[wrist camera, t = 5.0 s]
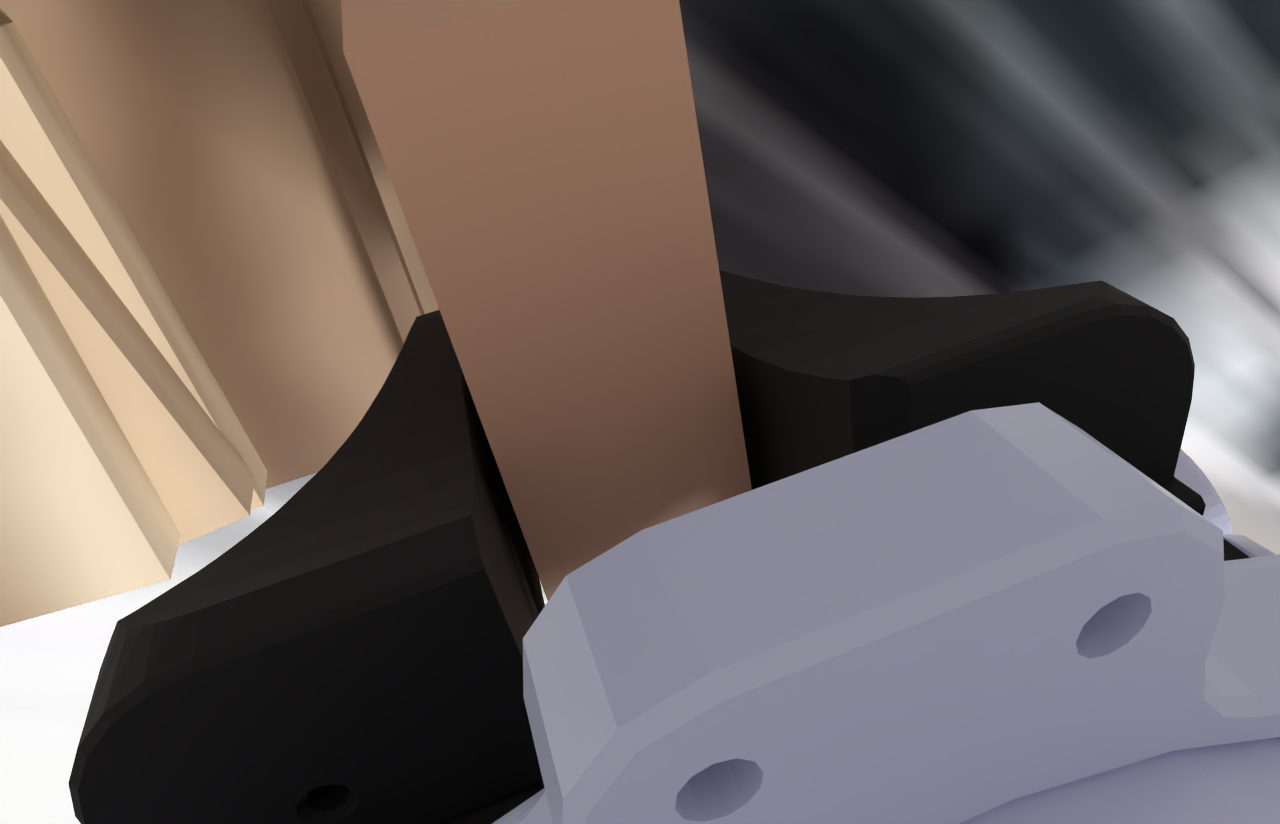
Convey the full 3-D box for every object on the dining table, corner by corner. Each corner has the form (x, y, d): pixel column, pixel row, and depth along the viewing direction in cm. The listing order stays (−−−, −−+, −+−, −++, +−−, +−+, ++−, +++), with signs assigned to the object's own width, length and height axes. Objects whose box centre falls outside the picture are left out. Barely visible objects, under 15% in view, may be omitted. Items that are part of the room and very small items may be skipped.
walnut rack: (556, -136, 18) (584, -139, 16) (652, 344, 25) (681, 384, 23) (-456, 93, 15) (-579, 125, 13) (-30, 563, 22) (-67, 632, 20)
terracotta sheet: (482, -78, 11) (675, -36, 5) (625, 474, 17) (802, 830, 11) (339, -42, 11) (343, 51, 5) (533, 507, 17) (656, 892, 10)
